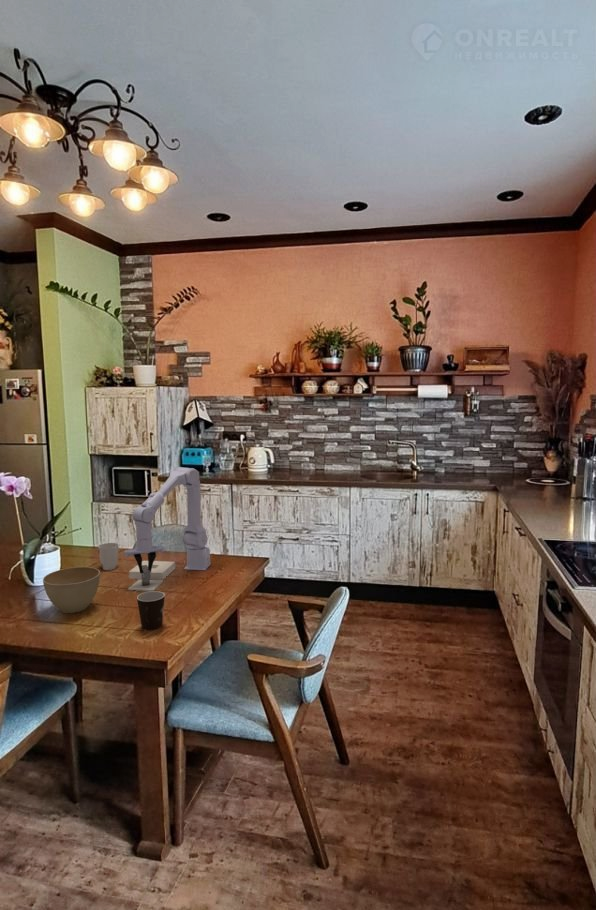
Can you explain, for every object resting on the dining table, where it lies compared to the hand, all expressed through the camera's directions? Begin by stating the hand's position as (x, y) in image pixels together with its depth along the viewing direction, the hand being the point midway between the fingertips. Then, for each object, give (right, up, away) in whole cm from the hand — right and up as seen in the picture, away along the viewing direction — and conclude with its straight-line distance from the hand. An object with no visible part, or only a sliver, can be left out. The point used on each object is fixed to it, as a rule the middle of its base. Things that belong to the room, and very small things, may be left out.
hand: (145, 572), depth 208 cm
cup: (-21, -3, +22) cm, 31 cm away
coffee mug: (+11, -10, -36) cm, 39 cm away
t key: (0, -5, +1) cm, 5 cm away
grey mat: (0, -6, +1) cm, 6 cm away
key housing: (-1, -4, +15) cm, 15 cm away
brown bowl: (-19, -8, -21) cm, 29 cm away
